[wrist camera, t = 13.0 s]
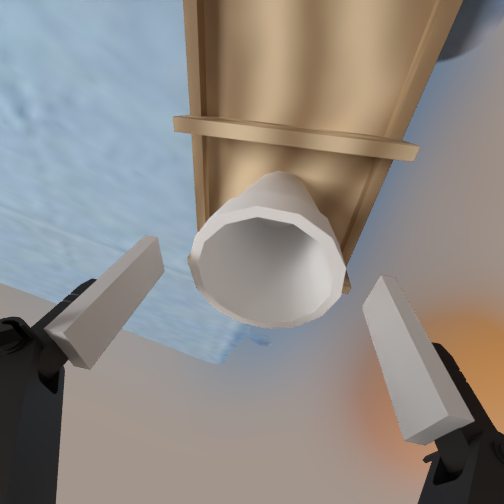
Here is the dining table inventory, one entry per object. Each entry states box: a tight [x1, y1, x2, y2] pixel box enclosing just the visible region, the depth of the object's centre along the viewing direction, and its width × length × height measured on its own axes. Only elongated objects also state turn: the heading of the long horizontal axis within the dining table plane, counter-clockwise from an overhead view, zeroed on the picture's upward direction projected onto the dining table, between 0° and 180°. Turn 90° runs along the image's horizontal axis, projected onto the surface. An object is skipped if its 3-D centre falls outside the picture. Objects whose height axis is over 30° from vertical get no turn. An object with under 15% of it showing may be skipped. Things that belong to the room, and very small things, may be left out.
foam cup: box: [189, 171, 346, 328], centre depth 18 cm, size 10×9×13 cm
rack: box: [173, 0, 463, 294], centre depth 18 cm, size 18×28×6 cm, turn 175°
